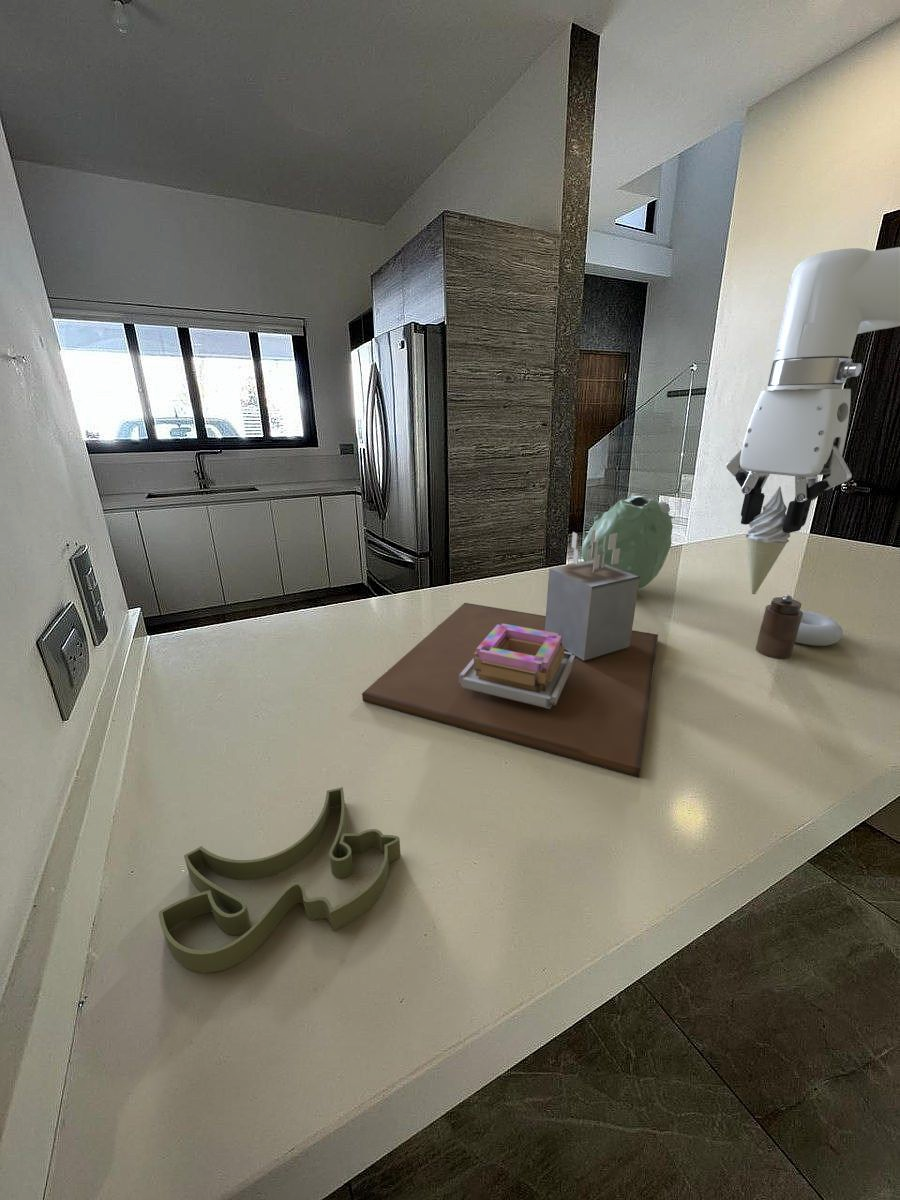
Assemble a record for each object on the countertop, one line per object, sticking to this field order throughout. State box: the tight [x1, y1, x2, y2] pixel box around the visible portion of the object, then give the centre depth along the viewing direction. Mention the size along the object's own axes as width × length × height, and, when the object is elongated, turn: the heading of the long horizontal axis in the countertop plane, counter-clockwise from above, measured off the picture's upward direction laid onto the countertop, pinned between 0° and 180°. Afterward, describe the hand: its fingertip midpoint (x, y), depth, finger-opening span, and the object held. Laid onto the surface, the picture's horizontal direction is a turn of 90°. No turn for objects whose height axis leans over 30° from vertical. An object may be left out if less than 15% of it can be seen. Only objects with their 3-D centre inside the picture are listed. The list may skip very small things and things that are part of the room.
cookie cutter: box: [158, 786, 401, 974], centre depth 40 cm, size 18×12×2 cm, turn 123°
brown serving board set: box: [361, 529, 659, 778], centre depth 69 cm, size 35×35×19 cm
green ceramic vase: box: [581, 492, 675, 590], centre depth 99 cm, size 16×19×20 cm
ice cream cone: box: [744, 485, 791, 595], centre depth 65 cm, size 5×5×15 cm
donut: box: [795, 609, 844, 647], centre depth 81 cm, size 10×4×10 cm
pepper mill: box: [755, 594, 803, 660], centre depth 74 cm, size 5×5×10 cm
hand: (769, 525), depth 64 cm, fingers closed on ice cream cone, 4 cm apart
